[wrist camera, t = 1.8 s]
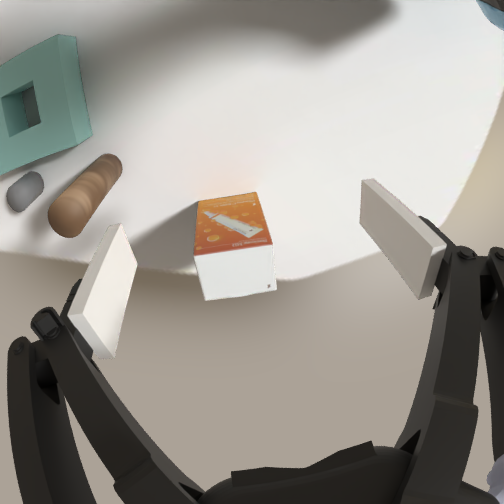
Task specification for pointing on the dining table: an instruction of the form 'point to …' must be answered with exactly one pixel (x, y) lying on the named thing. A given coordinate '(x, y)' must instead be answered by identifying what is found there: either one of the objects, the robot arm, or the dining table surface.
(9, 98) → the hole block
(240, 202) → the small box
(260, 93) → the dining table surface
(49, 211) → the walnut dowel
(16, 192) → the charcoal dowel
